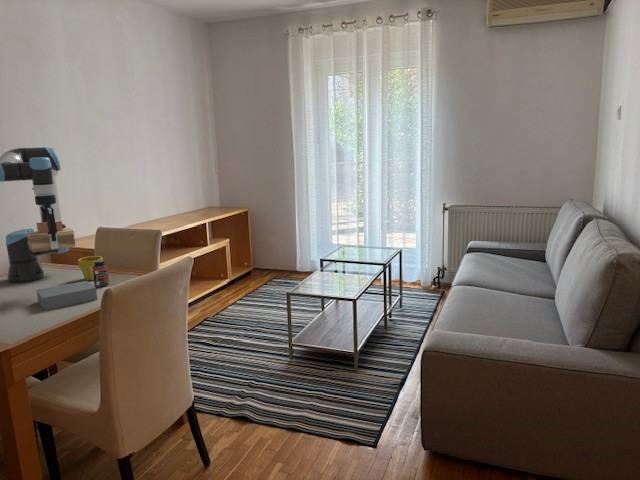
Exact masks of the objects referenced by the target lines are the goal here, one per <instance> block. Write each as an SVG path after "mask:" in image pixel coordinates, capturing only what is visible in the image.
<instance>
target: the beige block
mask: <svg viewBox="0 0 640 480" xmlns="http://www.w3.org/2000/svg"><path fill="white" fill-rule="evenodd" d="M27 240H28V246H29V249H30V250H31V251H32V252H33V253H34V252H41V251H48V250H55V249H51V245H50V238H49V234H48V233H40V234H39V233H38V231H37V232H36V231H34V232H28V233H27ZM57 240H58V247H59V248H57V249H62V248H69V249H70V248H75V247H76V239H75V232H74V230H73V229H72V228H69V227H66V228H63V231H57Z"/></svg>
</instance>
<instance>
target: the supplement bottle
mask: <svg viewBox="0 0 640 480" xmlns="http://www.w3.org/2000/svg"><path fill="white" fill-rule="evenodd" d="M94 263H95V266H94V267H93V276H94V280H93V282H94V283H93V284H94V287H96V288H102V287H103V288H105V287H106V286H109V285H110V279H109V271H108V266H107V265H106V264H105V260H98V261H95V262H94ZM104 286H105V287H104Z"/></svg>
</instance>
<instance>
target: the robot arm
mask: <svg viewBox="0 0 640 480" xmlns="http://www.w3.org/2000/svg"><path fill="white" fill-rule="evenodd" d="M59 171H61V164H60V161H59V156H58V154H57V150H56V149H55V148H54V147H49V146H48V147H45V146H43V147H18V148H13V149H11V150H7V151H6V152H3V153H2V154H1V155H0V182H1V183H3V182H13V181H14V182H16V181H17V182H18V181H32V185H33V187H32V188H31V190H32V191H33V193H34V195H35V196H34V201H35V205H36V206H39V214H40V215H39V216H40V221H41V222H47V225H48V229H49V232H48V234H49V238H50V245H51V249H55V250H48V251H41V252H34V253H33V252H32V251H31V250H30V249H29V246H28V240H27V233H28V232H37V231H35V230H34V229H33V228H25V229H20V230H16V231H12V232H9V233H8V234H7V235H6V236H5V246H6V250H7V257H8V263H9V266H8V271H7V276H6V277H7V282H9V283H25V282H26V283H27V282H32V281H36V280H40V279H42V278H44V277H45V271H44V269H43V267H42V265H41V264H40V262H39V258H38V256H45V255H53V254H62V253H66V252H68V251H70V247H69V248H62V249H57V248H59V247H58V240H57V227H56V222H55V221H62V216H61V208H60V203H59V196H58V195H59V194H58V188H57V187H58V186H57V180H56V177H57V176H58V174H59ZM41 222H40V223H41ZM62 227H63V228H67V226H66V224H65V223H63V222H62Z"/></svg>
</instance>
